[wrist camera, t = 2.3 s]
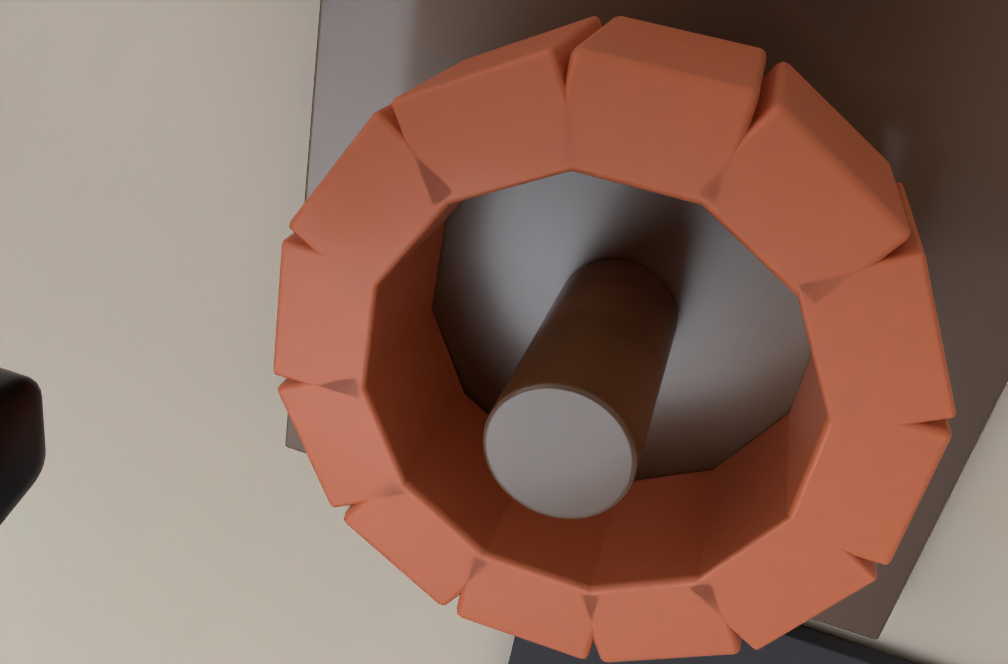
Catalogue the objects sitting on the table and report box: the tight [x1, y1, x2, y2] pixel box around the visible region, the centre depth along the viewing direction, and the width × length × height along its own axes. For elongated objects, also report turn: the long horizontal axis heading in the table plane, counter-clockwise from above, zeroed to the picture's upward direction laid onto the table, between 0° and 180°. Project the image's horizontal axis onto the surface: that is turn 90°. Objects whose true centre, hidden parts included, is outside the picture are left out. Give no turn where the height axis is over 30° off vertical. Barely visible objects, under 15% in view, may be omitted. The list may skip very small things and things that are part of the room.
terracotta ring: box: [274, 16, 956, 662], centre depth 12 cm, size 7×7×2 cm
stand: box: [286, 0, 1008, 639], centre depth 12 cm, size 11×11×6 cm
